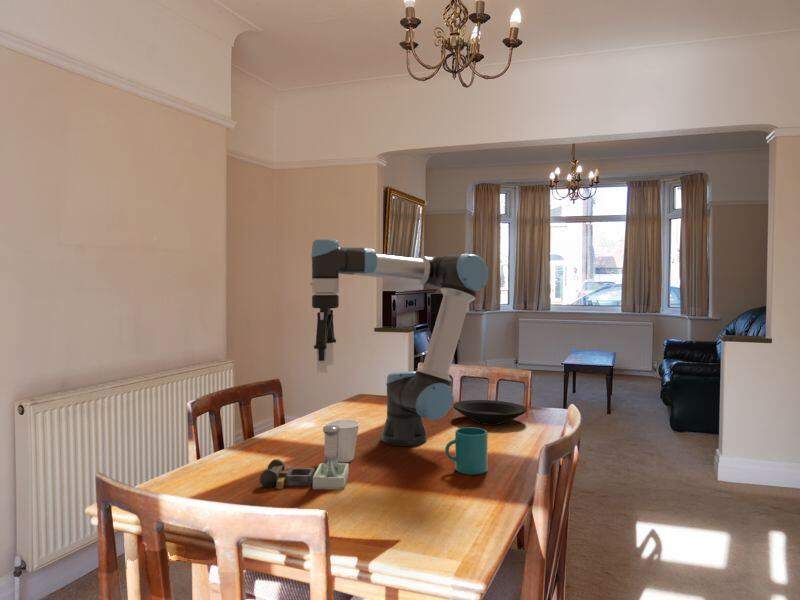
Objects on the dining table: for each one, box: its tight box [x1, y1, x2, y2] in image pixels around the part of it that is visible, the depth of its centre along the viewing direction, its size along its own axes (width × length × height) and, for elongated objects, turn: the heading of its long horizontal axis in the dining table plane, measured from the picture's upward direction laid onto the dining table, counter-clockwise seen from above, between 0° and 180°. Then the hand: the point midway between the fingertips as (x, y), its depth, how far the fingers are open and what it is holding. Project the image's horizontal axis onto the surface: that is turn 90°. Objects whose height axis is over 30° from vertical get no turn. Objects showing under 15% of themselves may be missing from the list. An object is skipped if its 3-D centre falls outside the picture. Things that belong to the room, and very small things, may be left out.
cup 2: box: [444, 426, 489, 476], centre depth 169 cm, size 9×12×11 cm
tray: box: [312, 462, 350, 491], centre depth 160 cm, size 8×12×3 cm, turn 179°
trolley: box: [259, 458, 316, 490], centre depth 160 cm, size 13×11×4 cm
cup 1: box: [325, 419, 360, 464], centre depth 179 cm, size 10×10×11 cm
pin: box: [322, 425, 340, 477], centre depth 160 cm, size 4×4×14 cm
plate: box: [452, 399, 527, 426], centre depth 227 cm, size 28×24×6 cm
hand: (325, 368), depth 170 cm, fingers open, 13 cm apart
